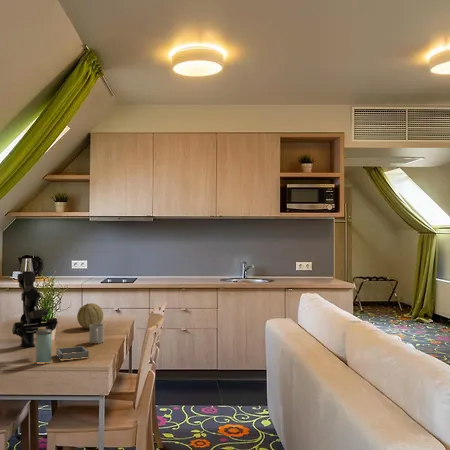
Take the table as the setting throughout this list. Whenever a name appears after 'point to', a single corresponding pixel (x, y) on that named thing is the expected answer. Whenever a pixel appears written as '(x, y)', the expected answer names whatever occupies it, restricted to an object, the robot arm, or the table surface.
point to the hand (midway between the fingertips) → (39, 341)
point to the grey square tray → (79, 353)
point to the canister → (43, 345)
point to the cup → (96, 333)
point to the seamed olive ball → (89, 315)
